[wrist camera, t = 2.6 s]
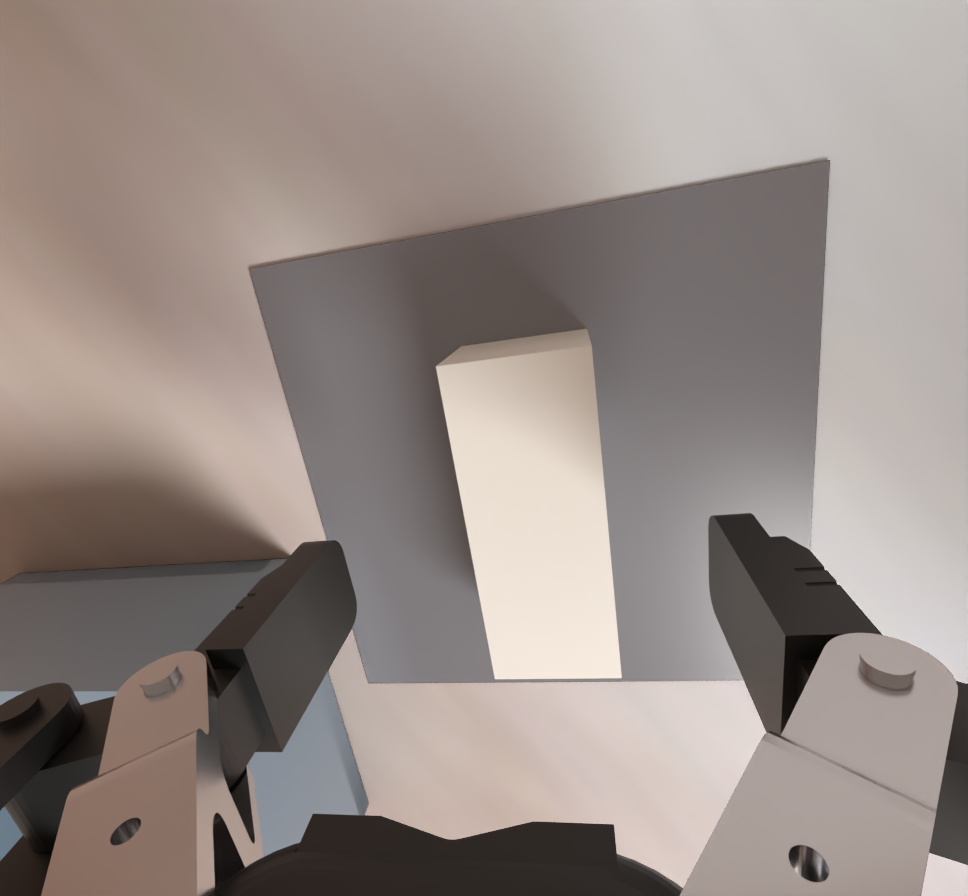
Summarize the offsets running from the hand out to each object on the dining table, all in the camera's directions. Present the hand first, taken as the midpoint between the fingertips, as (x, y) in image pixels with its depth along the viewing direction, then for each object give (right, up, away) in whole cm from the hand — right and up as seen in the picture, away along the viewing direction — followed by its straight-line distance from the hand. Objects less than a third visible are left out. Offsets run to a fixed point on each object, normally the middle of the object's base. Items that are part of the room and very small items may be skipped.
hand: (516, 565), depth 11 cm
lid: (+1, +2, +5) cm, 6 cm away
